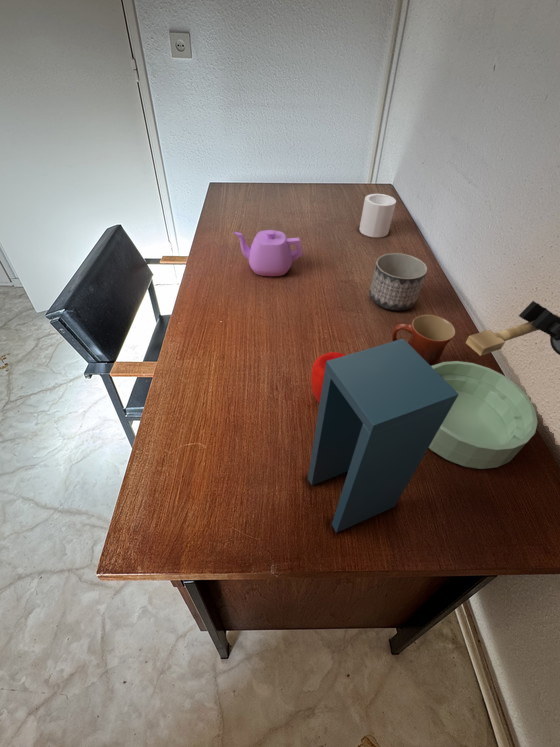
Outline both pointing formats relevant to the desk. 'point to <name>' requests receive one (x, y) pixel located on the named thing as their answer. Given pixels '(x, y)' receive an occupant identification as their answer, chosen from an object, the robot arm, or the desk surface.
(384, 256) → the planter
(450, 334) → the mug
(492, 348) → the wooden mallet
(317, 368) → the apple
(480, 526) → the desk surface
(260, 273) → the teapot
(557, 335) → the robot arm
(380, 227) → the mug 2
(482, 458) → the bowl
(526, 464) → the desk surface
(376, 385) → the teal arch block
